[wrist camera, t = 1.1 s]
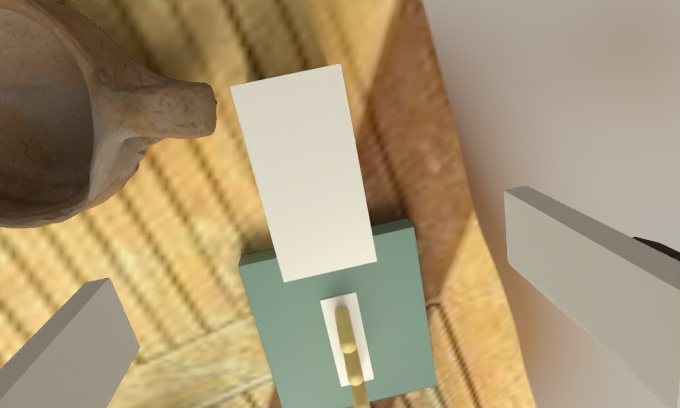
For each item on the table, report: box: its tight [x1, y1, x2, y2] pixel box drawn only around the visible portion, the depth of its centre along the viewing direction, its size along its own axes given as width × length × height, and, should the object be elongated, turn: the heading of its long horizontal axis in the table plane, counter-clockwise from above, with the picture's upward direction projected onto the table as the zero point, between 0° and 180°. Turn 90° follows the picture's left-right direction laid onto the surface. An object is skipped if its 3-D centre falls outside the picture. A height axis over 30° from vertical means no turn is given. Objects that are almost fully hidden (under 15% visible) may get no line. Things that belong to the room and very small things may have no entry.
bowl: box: [0, 0, 217, 228], centre depth 24 cm, size 18×14×10 cm
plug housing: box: [230, 64, 377, 282], centre depth 27 cm, size 12×6×8 cm, turn 11°
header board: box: [238, 218, 437, 408], centre depth 33 cm, size 16×14×6 cm
